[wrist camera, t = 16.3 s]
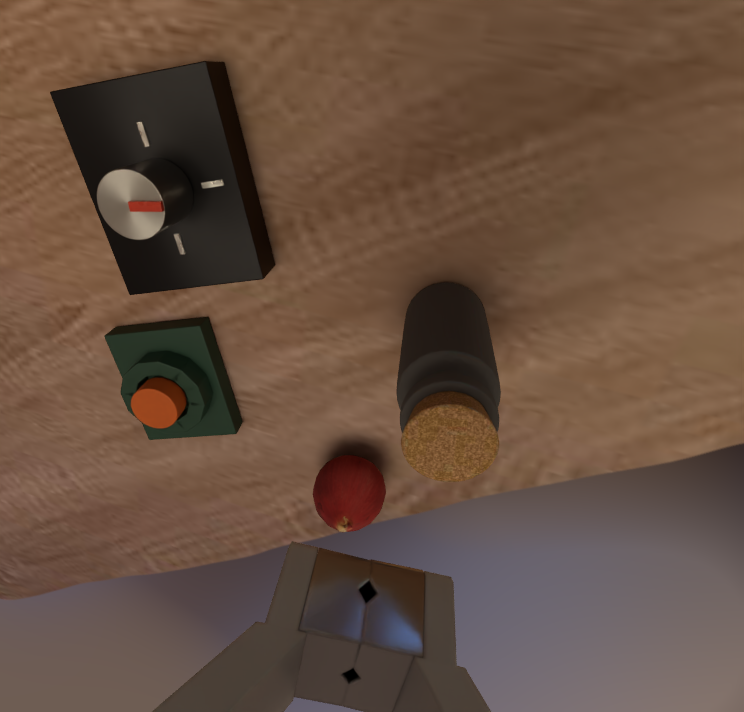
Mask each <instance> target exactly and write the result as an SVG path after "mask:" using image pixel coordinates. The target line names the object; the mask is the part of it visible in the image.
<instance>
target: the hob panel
mask: <svg viewBox="0 0 744 712" xmlns="http://www.w3.org/2000/svg"><path fill="white" fill-rule="evenodd" d="M50 94H51V96H52V99H53V101H54V104H55V106H56V109H57V112H58V114H59V117H60V119H61V122H62V124H63V127H64V129H65V132H66V134H67V137H68V139H69V142H70V144H71V147H72V150H73V152H74V155H75V157H76V160H77V162H78V165H79V167H80V170H81V172H82V175H83V177H84V180H85V183H86V185H87V188H88V190H89V193H90V195H91V198H92V200H93V203H94V205H95V208H96V210H97V213H98V216H99V218H100V221H101V223H102V226H103V228H104V231H105V233H106V236H107V238H108V241H109V243H110V246H111V249H112V251H113V254H114V256H115V259H116V261H117V264H118V266H119V269H120V271H121V274H122V276H123V279H124V281H125V284H126V287H127V289H128V292H129V294H130V295H134V294H143V293H151V292H159V291H168V290H176V289H184V288H193V287H201V286H209V285H218V284H226V283H234V282H243V281H251V280H260V279H264V278H265V277H266V275H267V274H268V273H269V272H270V271H271V269H272V268H273V267H274V266H275V262H274V258H273V254H272V250H271V246H270V242H269V238H268V234H267V230H266V226H265V222H264V218H263V214H262V210H261V206H260V202H259V198H258V194H257V190H256V186H255V182H254V178H253V174H252V170H251V166H250V162H249V159H248V155H247V151H246V147H245V143H244V139H243V135H242V131H241V127H240V123H239V119H238V115H237V111H236V107H235V103H234V99H233V95H232V91H231V87H230V83H229V79H228V75H227V71H226V67H225V63H224V62H212V61H203V62H198V63H193V64H188V65H183V66H178V67H173V68H168V69H163V70H158V71H153V72H148V73H143V74H138V75H132V76H127V77H122V78H117V79H112V80H107V81H102V82H97V83H92V84H87V85H82V86H77V87H72V88H67V89H62V90H57V91H52V92H50ZM153 158H158V159H164V160H167V161H169V162H171V163H173V164H175V165H176V166H177V167H179V168H180V169H181V170H182V171H183V172H184V174H185V175H186V176H187V178H188V180H189V182H190V184H191V187H192V191H193V205H192V208H191V210H190V212H189V214H188V215H187V216H186V217H185V218H184V219H183V220H181V221H179V222H177V223H176V224H174V225H172V226H171V227H169V228H167V229H165V230H164V231H162V232H160V233H158V234H157V235H155V236H153V237H151V238H149V239H145V240H134V239H129V238H126V237H124V236H122V235H120V234H119V233H117V232H116V231H114V230H113V229H112V228H111V227H110V226H109V225H108V224H107V222H106V221H105V220H104V218H103V216H102V215H101V212H100V210H99V207H98V203H97V189H98V185H99V183H100V181H101V179H102V178H103V177H104V176H105V175H106V174H107V173H108V172H110V171H112V170H115V169H118V168H122V167H125V166H128V165H131V164H135V163H138V162H141V161H145V160H148V159H153Z"/></svg>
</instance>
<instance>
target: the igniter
mask: <svg viewBox="0 0 744 712" xmlns="http://www.w3.org/2000/svg"><path fill="white" fill-rule="evenodd" d="M105 339H106V341H107V344H108V346H109V348H110V351H111V353H112V355H113V357H114V360H115V362H116V364H117V367H118V369H119V371H120V374H121V376H122V378H123V381H122V387H121V395H122V397H123V400H124V402H125V404H126V406H127V409H128V411H129V412H130V413H131V414H133V415H134V416H135V414H134V413H133V411H132V408H131V399H132V396H133V395H134V393H135V392H136V391H137V390H138V389H139V388H140V387H141V386H142V385H143V384H144V383H145V382H146V381H147V380H149V379H151V378H155V377H162V378H166V379H169V380H171V381H173V382H175V383H176V384H177V385H178V386H179V387H180V388H181V389H182V390H183V392H184V394H185V396H186V407H185V409H184V411H183V412H182V413H181V415H180V416H179V417H178V419H177V420H176V421H175V423H174V424H173V425H171V426H169V427H167V428H153V427H150V426H148V425H146V424H144V423H142V424H143V426H144V429H145V431H146V433H147V436H148V438H149V440H154V439H168V438H183V437H198V436H213V435H227V434H236V433H237V432H238V430H239V428H240V426H241V424H242V419H241V416H240V413H239V410H238V407H237V404H236V401H235V398H234V395H233V392H232V388H231V385H230V382H229V379H228V376H227V373H226V370H225V367H224V364H223V361H222V358H221V355H220V352H219V349H218V346H217V343H216V340H215V337H214V334H213V331H212V328H211V324H210V321H209V318H208V317H203V318H193V319H184V320H175V321H166V322H157V323H148V324H138V325H129V326H120V327H115V328H114V329H112V330H111V331H110V332H109V333H107V334H106V335H105ZM135 417H136V416H135ZM136 418H137V417H136ZM137 419H138V418H137ZM138 420H139V419H138ZM139 421H140V420H139ZM140 422H141V421H140Z"/></svg>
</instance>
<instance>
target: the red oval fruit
mask: <svg viewBox="0 0 744 712" xmlns="http://www.w3.org/2000/svg"><path fill="white" fill-rule="evenodd" d="M385 494H386V489H385V483H384V479H383V476H382V474H381V473H380V471H379V470H378V468H377V467H376V466H375V465H374V463H372V462H370V461H368V460H366V459H365V458H362V457H358V456H354V455H342V456H339V457H337V458H334V459H332V460H330V461H329V462H327V463H326V464H325V465H324V467H323V468H322V469H321V470H320V472H319V473H318V475H317V477H316V481H315V485H314V489H313V498H314V502H315V506H316V510H317V512H318V514H319V516H320V517H321V518H322V519H323V520H324V521H325V522H326V524H327V525H328V526H330V527H332V528H334V529H336V530H338V531H340V532H350V531H356V530H359V529H361V528H363V527H365V526H367V525H369V524H370V523H371V522H372V521H373V520H374V519H375V517H376V516H377V515H378V514H379V512H380V510H381V509H382V505H383V502H384V498H385Z"/></svg>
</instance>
